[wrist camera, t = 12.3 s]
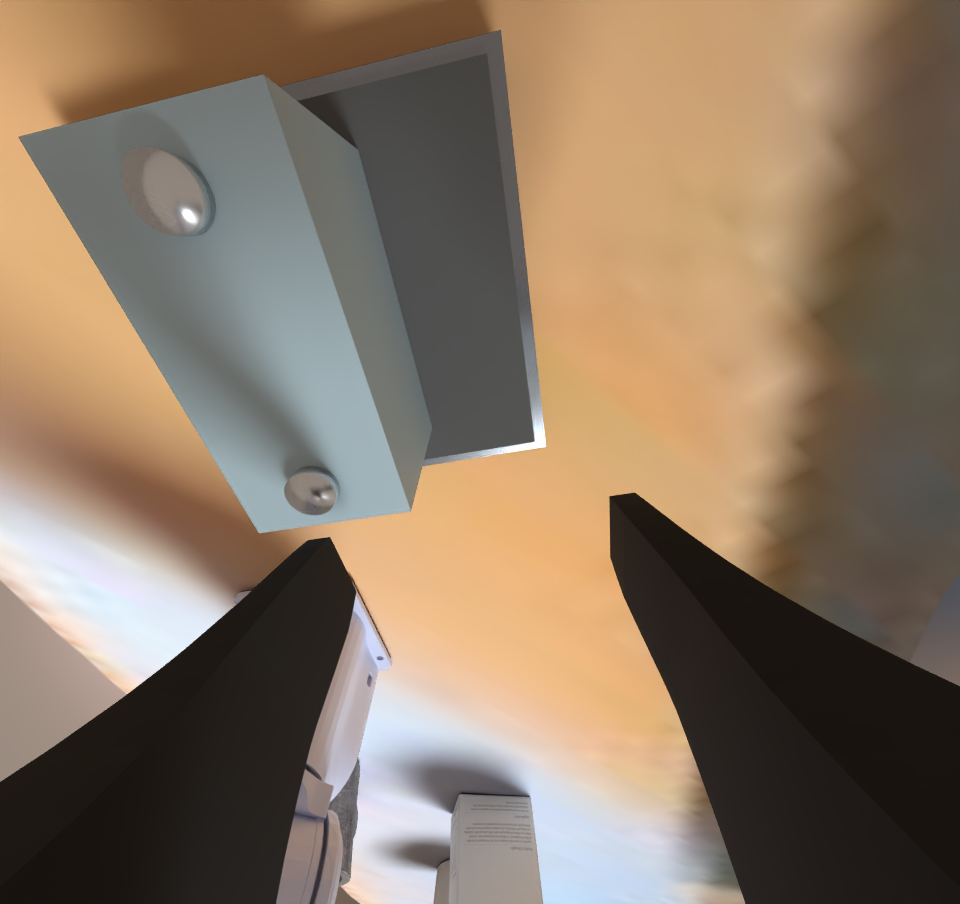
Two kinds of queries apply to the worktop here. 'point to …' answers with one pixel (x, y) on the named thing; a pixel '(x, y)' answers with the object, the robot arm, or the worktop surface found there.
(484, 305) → the shallow gray tray
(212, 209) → the block
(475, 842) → the skincare box
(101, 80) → the worktop surface
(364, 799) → the worktop surface
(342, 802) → the pipe
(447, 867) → the coffee cup
